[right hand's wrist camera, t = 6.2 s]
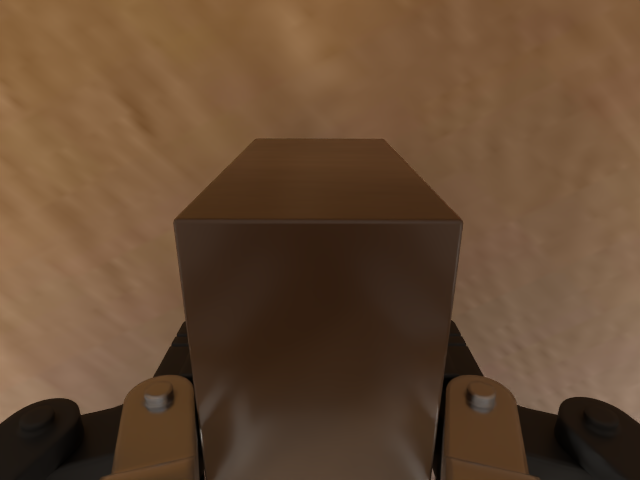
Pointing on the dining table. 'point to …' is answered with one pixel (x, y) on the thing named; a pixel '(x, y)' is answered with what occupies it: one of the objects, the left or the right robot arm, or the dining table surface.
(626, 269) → the dining table surface
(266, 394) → the post
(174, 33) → the dining table surface
